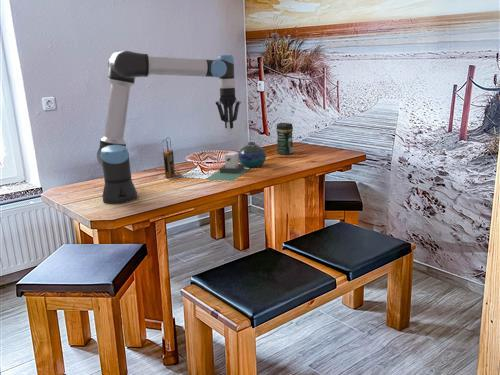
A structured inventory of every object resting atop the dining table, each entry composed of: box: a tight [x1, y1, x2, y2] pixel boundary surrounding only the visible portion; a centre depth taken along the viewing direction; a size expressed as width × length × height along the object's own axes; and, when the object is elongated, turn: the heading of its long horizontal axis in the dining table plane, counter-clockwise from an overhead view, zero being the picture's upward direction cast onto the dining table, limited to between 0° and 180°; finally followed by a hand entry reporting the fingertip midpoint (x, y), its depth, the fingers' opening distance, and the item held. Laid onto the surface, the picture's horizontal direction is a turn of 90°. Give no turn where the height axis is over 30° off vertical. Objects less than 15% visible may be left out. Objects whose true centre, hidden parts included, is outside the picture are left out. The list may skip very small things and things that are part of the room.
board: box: [205, 163, 250, 182], centre depth 243 cm, size 24×15×4 cm, turn 161°
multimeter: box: [162, 137, 185, 181], centre depth 247 cm, size 15×10×20 cm
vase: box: [237, 141, 267, 169], centre depth 260 cm, size 15×15×13 cm
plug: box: [224, 152, 240, 168], centre depth 247 cm, size 9×5×9 cm, turn 161°
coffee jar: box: [276, 122, 294, 155], centre depth 288 cm, size 10×8×19 cm
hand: (229, 134), depth 244 cm, fingers closed
